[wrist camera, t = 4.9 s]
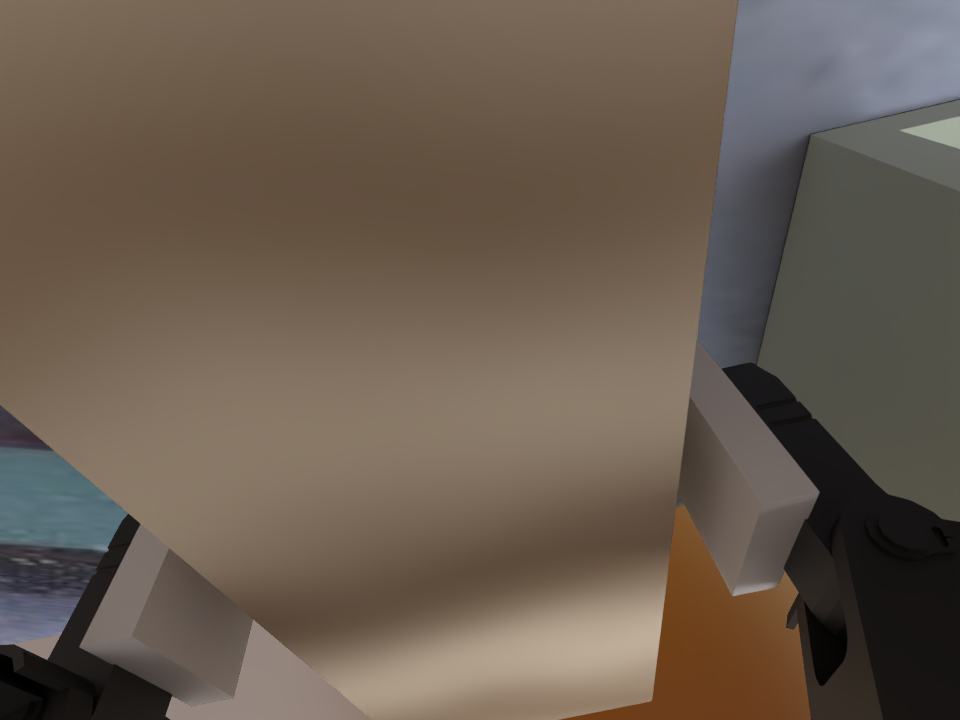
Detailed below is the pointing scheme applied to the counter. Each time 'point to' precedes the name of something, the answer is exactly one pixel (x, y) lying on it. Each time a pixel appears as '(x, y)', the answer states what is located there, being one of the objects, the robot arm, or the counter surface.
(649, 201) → the shelf board
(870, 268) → the shelf frame
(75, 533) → the counter surface
